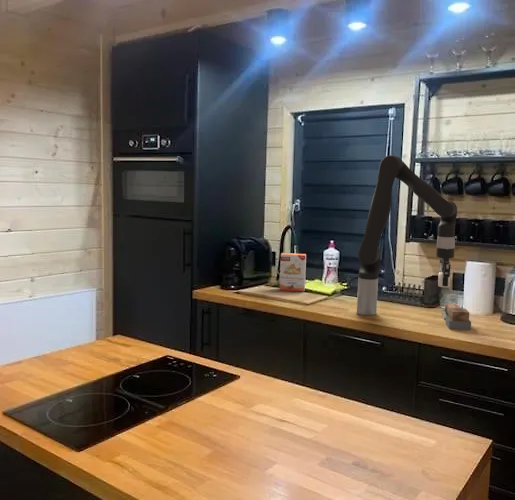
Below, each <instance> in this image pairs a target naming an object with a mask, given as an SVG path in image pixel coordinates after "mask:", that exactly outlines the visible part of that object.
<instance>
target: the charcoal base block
mask: <svg viewBox="0 0 515 500" xmlns="http://www.w3.org/2000/svg"><path fill="white" fill-rule="evenodd" d="M445 325H446V327H447V328H448V330H455V329H457V331H471V329H472V321H471V320H470V319H469V321H452V320H451V319H450V318H449V316H446V320H445Z"/></svg>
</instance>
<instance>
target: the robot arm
mask: <svg viewBox="0 0 515 500" xmlns="http://www.w3.org/2000/svg"><path fill="white" fill-rule="evenodd" d="M395 179H397V180H399V181H401V182H402V183H404V184H405V185H406V186H407V187H408V188H409V189H410V190H411V192H412V193H413V194H414V195H415V196H416V197H417V198H419V199H420V200H421V201H422V202H424V203H425V204H427V205H428V206H429V207H430V208H431V209H432V210H433V211H434V212H435V213H436V215H438V216H439V217H440V221H439V224H438V226H437V239H436V258H439V272H442V273H443V276H442V277H443V283H442V285H443V286H448V278H449V277H450V278H451V274H450V273H451V262H450V259H453V258H455V248H456V245H455V244H456V240H455V236H456V235H455V233H456V221H457V215H458V206H457V204H456V203H455V202H454V201H451V200H447V199H445V198H444V197H443V196H442V195H441V193H440V192H439V191H438V190H437V189H435V188H434V187H433V186H432V185H430V184H429V183H427V182H426V181H425V180H423V179H422V178H421V177H419V175H417V174H416V173H415V172H414V171H413V170H411V168H410V167H409V166H408V165H407V164H406V163H405V162H404V161H403V160H402V159H401V158H400V157H399V156H396V155H385V157H383V158H382V160H381V161H380V163H379V166H378V174H377V182H376V185H375V189H374V191H373V192H374V193H373V196H372V200H371V204H370V208H369V212H368V214H367V215H368V216H367V220H366V226H365V232H364V235H363V238H362V242H361V243H360V246H359V249H358V253H357V256H358V257H357V259H358V260H359V263H360V268H359V271H358V274H357V275H358V276H357V278H358V281H357V294H356V295H357V296H356V297H357V299H356V314H357V315H362V316H375V315H377V308H378V287H379V274H380V269H381V267H380V266H381V250H380V248H379V243H380V239H381V237H382V234H383V232H384V231H385V228H386V226H387V223H388V221H389V218H390V214H391V210H392V204H393V203H392V201H393V200H392V199H393V197H392V195H393V194H392V193H393V192H392V191H393V186H394V182H395ZM439 272H438V273H439ZM445 273H447V274H445Z"/></svg>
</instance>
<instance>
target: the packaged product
mask: <svg viewBox="0 0 515 500" xmlns="http://www.w3.org/2000/svg"><path fill="white" fill-rule="evenodd" d="M444 305H445V306H444V308H441V309H440V311H441V316H442V318H443V320H444V321H446V316H449V308H461V306H460V305H459V304H457V303H445V304H444Z"/></svg>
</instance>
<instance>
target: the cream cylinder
mask: <svg viewBox="0 0 515 500" xmlns="http://www.w3.org/2000/svg"><path fill="white" fill-rule="evenodd" d="M445 274H447V273H445ZM450 275H452V274H451V272H450ZM442 276H443V273H442V272H438V279H437V287H440V288H451V276H450V277H449V278H448V286H443V285H442V283H443V277H442Z"/></svg>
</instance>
